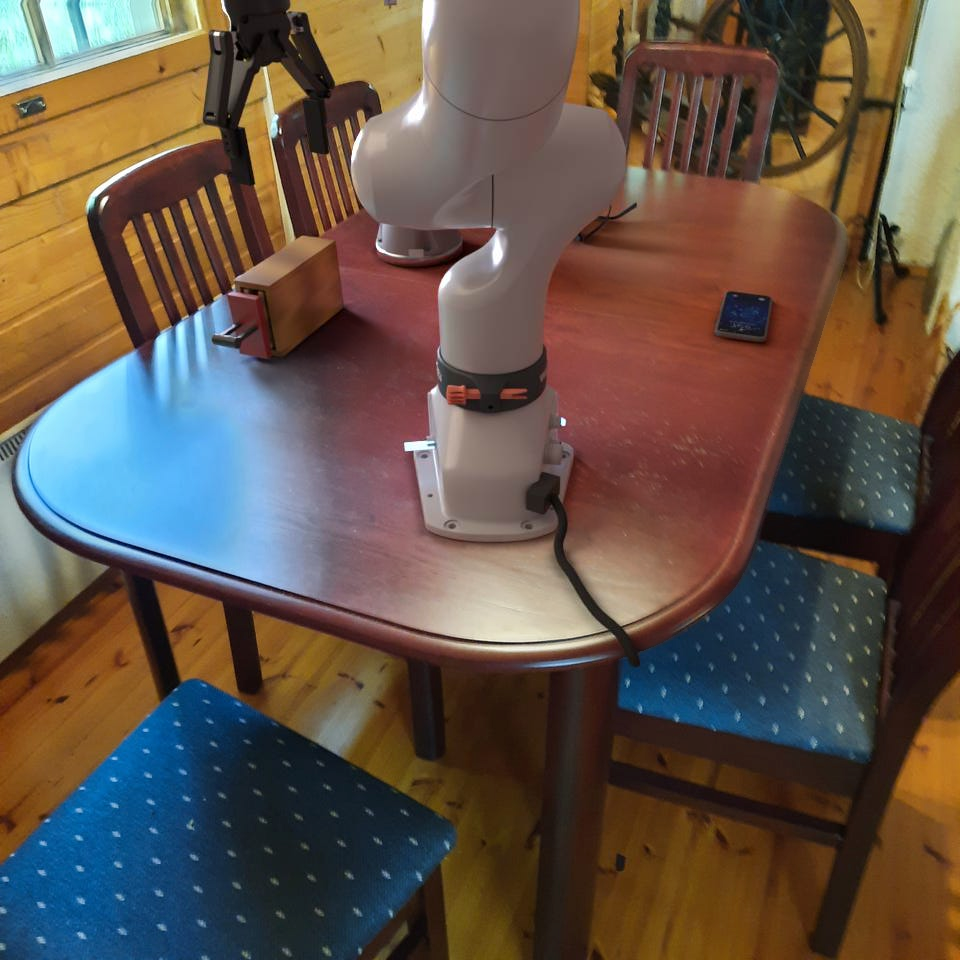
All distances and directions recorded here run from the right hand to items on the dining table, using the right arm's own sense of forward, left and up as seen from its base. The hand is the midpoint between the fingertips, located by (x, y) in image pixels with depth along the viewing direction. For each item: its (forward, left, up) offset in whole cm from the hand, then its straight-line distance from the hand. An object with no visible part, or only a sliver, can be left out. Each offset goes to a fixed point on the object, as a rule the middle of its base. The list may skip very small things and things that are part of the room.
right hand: (431, 3), depth 98 cm
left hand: (-2, +19, -18) cm, 26 cm away
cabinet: (+5, +23, -44) cm, 49 cm away
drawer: (0, +25, -43) cm, 49 cm away
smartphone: (+7, -44, -44) cm, 62 cm away
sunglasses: (+47, -24, -44) cm, 69 cm away
